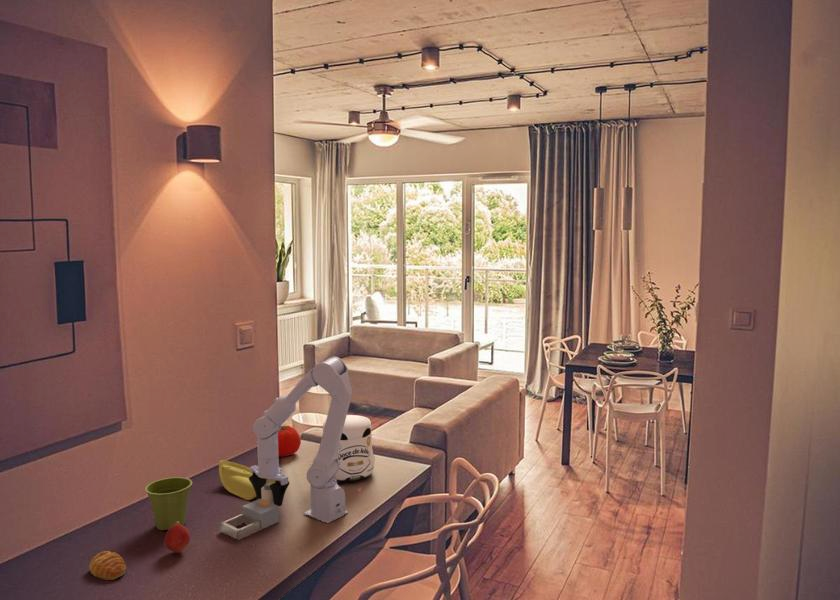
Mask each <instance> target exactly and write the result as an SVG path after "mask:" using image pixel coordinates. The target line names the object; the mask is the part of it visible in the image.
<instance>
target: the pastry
mask: <svg viewBox="0 0 840 600" xmlns="http://www.w3.org/2000/svg"><path fill="white" fill-rule="evenodd" d="M88 569H89V572H90V574H92V575H93V576H94V577H95V578H99V579H102V580H107V581H108V580H111V581H113V580H115V579H118V578H119V577H122V576H124V575H125V573H126V572H127V566H126V562H125V560H124V559H123V557H122V556H121V555H120V554H119V553H117V552H116V551H115V552H111V551H109V550H104V551H100V552H99V553H97V554H96V555H95V556H93V557H92V559H91V560H90V562H89V564H88Z"/></svg>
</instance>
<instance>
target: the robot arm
mask: <svg viewBox="0 0 840 600" xmlns="http://www.w3.org/2000/svg"><path fill="white" fill-rule="evenodd" d="M318 386H319V387H321V388H322V389H323V390H324V391H326V392H327V393H328V394H329V396H330V397H331V400H330V404H329V409H328V412H327V417H326V419H325V420H326V423H325V427H324V431H323V430H322V435H321V438H320V439H321V440H320V443H319V447H318V450H317V453H316V455H315V457H314V459H313V460H312V464H311V465H310V466H309V468H308V470H307V471H306V479H307V482H308V483H309V485H310V509H309V510H306V511H305V512H304V513H305V514H307V515H306V516H308V515H309V516H308V517H310V516H312V517H311V518H313V517H314V518H313V519H315V518H316V519H315V520H318V521H320V520H321V522H323V523H325V522H326V523H325V524H330V523H332V522H333V521H336V520H337V519H339V518H341V517H343V516H345V515H347V514H348V513H349V512H348V511H347V510H346V492H345V490H344V488H343V487H340V485H338V481H336V476H335V474H336V473H337V472H338V470H339V462H338V457H339V453H338V452H337V451H338V447H339V443H340V439H341V435H342V431H343V427H344V423H345V420H346V416H347V415H348V412H349V407H350V404H351V399H352V396H353V389H352V385H351V381H350V376H349V367H348V366H347V365H346V363H345V362H344V360H343V359H342V358H341V357H338V356H330V357H328V358H327V359H326V360H323V361H322V362H319V363H316V365H314V367H313V368H312V369H310V370H309V371H308V372H307V373H306V374H304V376H303V377H302V378H301V379H300V380H299V381H298V382H297V384H296V385H295V386H294V387H293V388H292V389H291V391H290V392H289V393H288V394H287V395H280V396H279V397H276V398H274V400H273V404H272V405H271V406H270V407H269V408H268V409H266V410H264V411H263V415H262V416H261V417H259V418H256V420H255V422H254V423H253V426H252V430H253V433H254V435H255V436H256V439H257V441H256V443H257V446H256V447H257V448H256V449H257V465H256V464H255V465H252V466H250V467H249V468H250V473H251V474H253V475H252V476H250V477H249V481H250V482H251V484H252V485H253V487H254V490H255V493H256V500H258V499H262V496H261V488H262V487H264V485H265V484H266V481H267V479H271V480H274V481H275V483H273V484H271V485H269V487H270V488H271V491H272V494H273V500H274V504H275V505H277V506H279V507H281V506H283V501H284V498H285V495H286V491H287V489H288V487H289V486H290V481H289V476H287V475H285V474H284V473H283V472H282V468H281V467H280V464H279V463H280V462H279V461H280V460H279V456H278V431H279V430H280V428H281V426H283V424H284V423H285V422H286V421H287V420H288V419H289V418H290V417H291V416H292V415H293V414H294V413H295V411H296V410H297V403H298V402H299V400H301V399H302V397H304V395H306V394H307V393H308V392H309V391H310V390H311V389H312V388H313V387H318ZM346 513H347V514H346ZM305 514H304V515H305ZM344 514H345V515H344Z"/></svg>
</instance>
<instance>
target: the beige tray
mask: <svg viewBox="0 0 840 600" xmlns="http://www.w3.org/2000/svg"><path fill="white" fill-rule="evenodd" d="M242 523H247V524H249V525H247V524H246V525H245V526H243V527H240V528H237V527H238V525H239V526H241V525H243V524H242ZM219 524H220V526H219V527H220V533H221V534H224V533H225V534H224V535H226V534H227V535H226V536H228V535H229V537H230V536H231V537H230V538H232V537H233V538H232V539H234V538H235V540H236V539H237V541H241V540H243V539H244V538H243V537H245V536H247V535H249V534H251V533H253V532H255V531H257V530H260V529H261V521H260V520H257V519H255V518H253V517H251V516H248V515H246V514H244V513H243V512H242V513H240V514H238V515H236V516H234V517H230V518H229V519H227V520H224V521H222V522H220V523H219ZM240 524H241V525H240ZM236 526H237V527H236ZM260 531H261V530H260ZM251 535H252V534H251ZM249 536H250V535H249ZM247 537H248V536H247ZM242 538H243V539H242ZM245 538H246V537H245ZM240 539H241V540H240Z"/></svg>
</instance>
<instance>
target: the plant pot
mask: <svg viewBox="0 0 840 600" xmlns="http://www.w3.org/2000/svg"><path fill="white" fill-rule="evenodd" d="M192 485H193V481H192V479H190V478H188V477H181V476H180V477H179V476H177V477H166V478H165V477H164V478H161V479H158V480H155V481H152V482H150V483H148V484H147V485H146V486H145V488H144V492H146V493H147V496H148V499H149V501H150V504H151V509H152V513H153V517H154V522H155V526H156V529H157V530H159V531H166V530H167V531H168V530H169V529H170V528H171V527H172V526H173V525H174V524H175V523H176V522H177V521H178V522H180V525H183V526H184V524H185V523H186V517H187V510H188V509H187V508H188V501H189V494H190V491H191V490H190V489H191V487H192Z"/></svg>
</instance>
